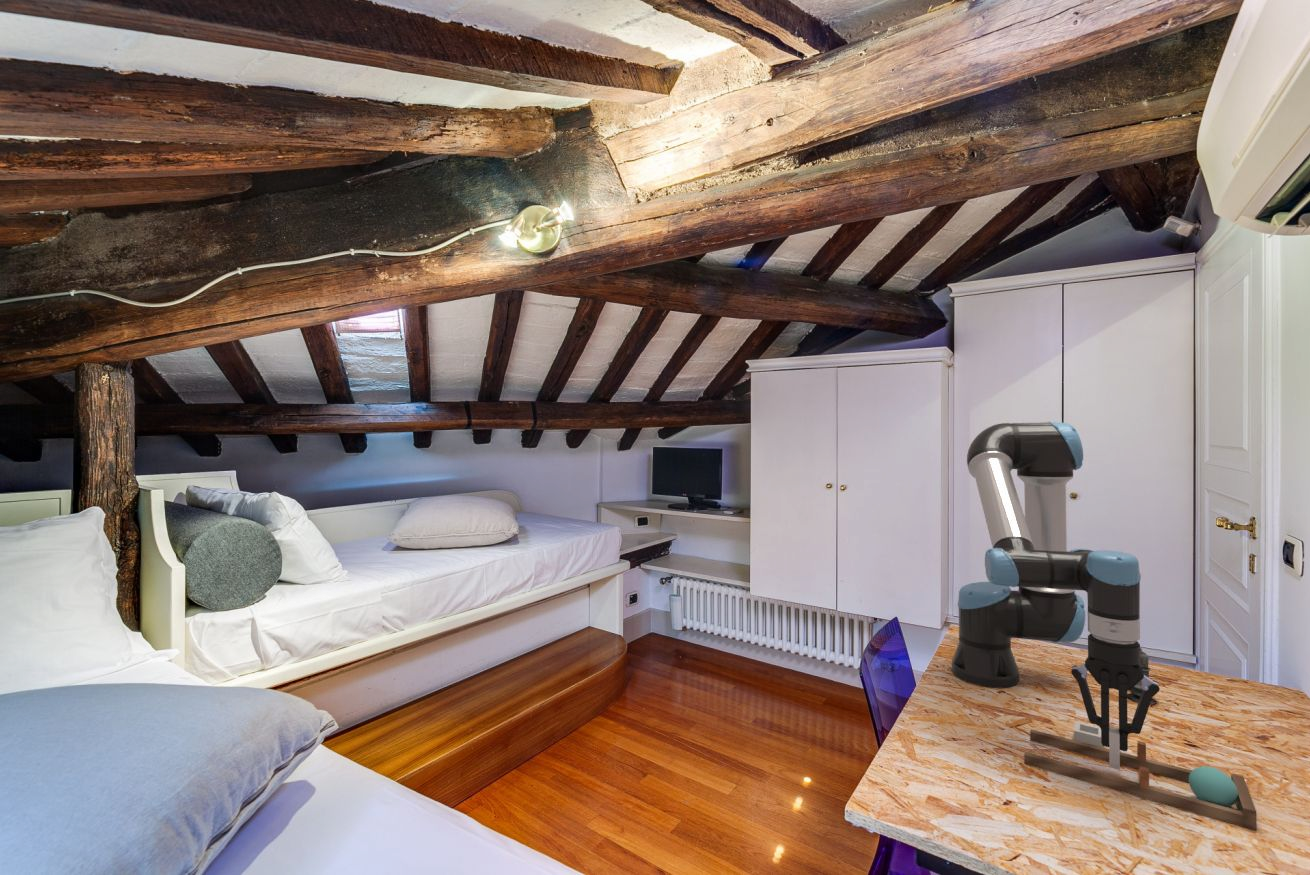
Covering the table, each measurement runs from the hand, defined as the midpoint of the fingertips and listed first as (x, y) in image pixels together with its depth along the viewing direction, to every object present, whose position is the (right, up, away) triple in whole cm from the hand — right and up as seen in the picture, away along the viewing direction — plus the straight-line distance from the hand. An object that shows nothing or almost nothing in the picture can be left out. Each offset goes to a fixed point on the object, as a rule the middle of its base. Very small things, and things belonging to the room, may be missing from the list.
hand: (1114, 765), depth 107 cm
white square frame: (+4, -1, +12) cm, 13 cm away
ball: (+9, +1, -9) cm, 13 cm away
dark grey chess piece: (+29, -1, +29) cm, 40 cm away
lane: (+2, -2, -1) cm, 3 cm away
